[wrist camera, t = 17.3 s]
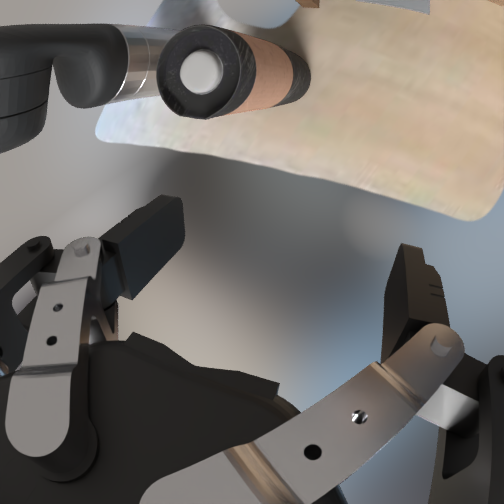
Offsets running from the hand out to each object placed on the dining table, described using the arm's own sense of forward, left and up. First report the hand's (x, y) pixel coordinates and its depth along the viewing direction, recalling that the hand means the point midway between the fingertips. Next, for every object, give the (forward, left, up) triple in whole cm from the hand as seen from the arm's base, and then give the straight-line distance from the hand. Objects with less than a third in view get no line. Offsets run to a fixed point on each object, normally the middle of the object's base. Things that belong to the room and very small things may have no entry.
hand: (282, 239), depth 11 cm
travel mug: (-10, +6, -31) cm, 33 cm away
